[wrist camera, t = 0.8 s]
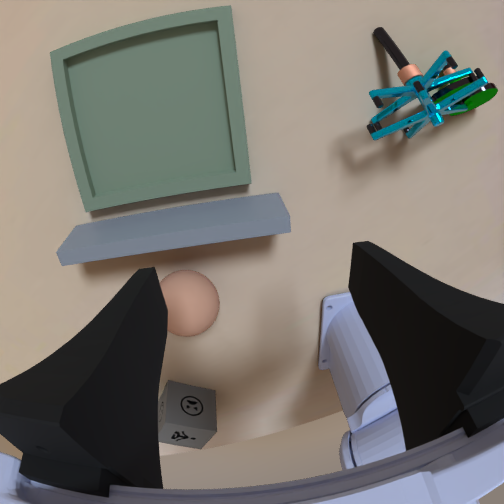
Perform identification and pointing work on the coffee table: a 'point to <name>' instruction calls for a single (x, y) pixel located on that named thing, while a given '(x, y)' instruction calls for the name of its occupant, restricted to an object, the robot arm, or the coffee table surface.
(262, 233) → the low wall
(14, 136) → the coffee table surface
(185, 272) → the rubber ball
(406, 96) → the stick construction toy
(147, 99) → the green tray
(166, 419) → the dice cube
